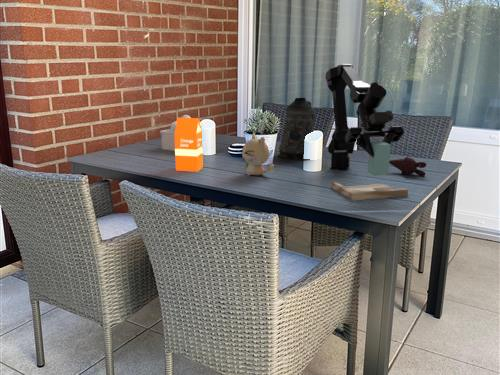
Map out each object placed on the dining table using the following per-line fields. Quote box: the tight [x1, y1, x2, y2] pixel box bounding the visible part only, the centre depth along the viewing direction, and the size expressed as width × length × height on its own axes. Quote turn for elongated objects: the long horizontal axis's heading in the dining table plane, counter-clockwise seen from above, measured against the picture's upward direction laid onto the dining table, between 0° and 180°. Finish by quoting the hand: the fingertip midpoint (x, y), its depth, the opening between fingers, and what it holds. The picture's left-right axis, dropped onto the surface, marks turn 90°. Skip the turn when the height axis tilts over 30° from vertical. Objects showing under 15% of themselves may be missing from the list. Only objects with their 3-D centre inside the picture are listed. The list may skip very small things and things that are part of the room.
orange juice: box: [174, 117, 204, 173], centre depth 193 cm, size 8×9×20 cm
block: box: [367, 141, 392, 177], centre depth 162 cm, size 5×5×10 cm
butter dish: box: [159, 114, 202, 152], centre depth 233 cm, size 18×18×16 cm
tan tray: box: [331, 181, 409, 201], centre depth 164 cm, size 15×20×2 cm
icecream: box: [389, 156, 427, 177], centre depth 188 cm, size 7×7×15 cm
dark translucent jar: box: [278, 97, 316, 161], centre depth 217 cm, size 16×19×25 cm
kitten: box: [241, 132, 275, 177], centre depth 186 cm, size 15×10×15 cm
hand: (381, 156), depth 161 cm, fingers closed on block, 5 cm apart
